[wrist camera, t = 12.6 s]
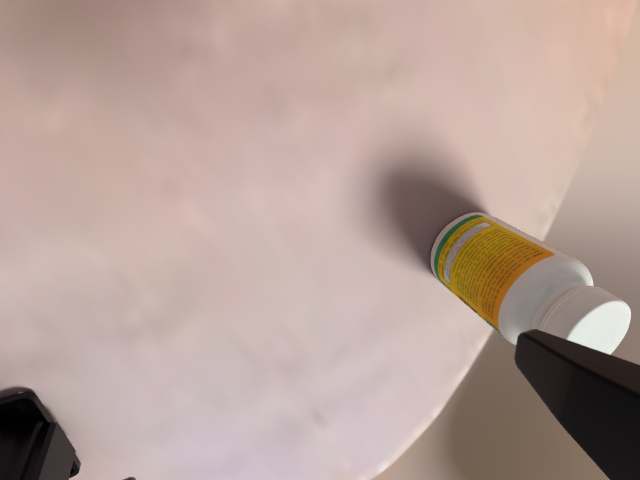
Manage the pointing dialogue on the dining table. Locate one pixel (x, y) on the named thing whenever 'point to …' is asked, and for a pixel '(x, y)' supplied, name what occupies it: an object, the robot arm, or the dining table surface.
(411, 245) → the dining table surface
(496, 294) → the supplement bottle
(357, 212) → the dining table surface
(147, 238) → the dining table surface
